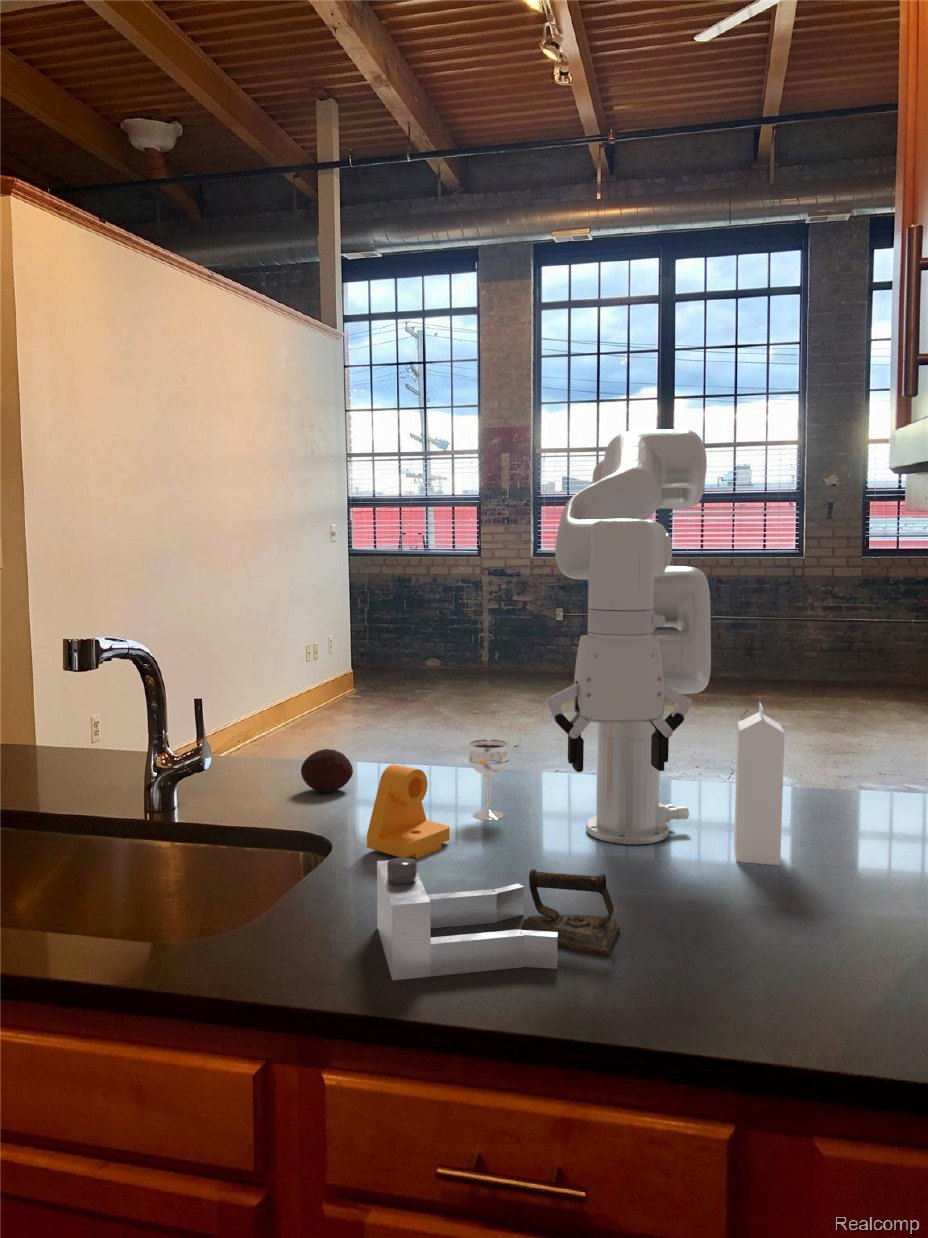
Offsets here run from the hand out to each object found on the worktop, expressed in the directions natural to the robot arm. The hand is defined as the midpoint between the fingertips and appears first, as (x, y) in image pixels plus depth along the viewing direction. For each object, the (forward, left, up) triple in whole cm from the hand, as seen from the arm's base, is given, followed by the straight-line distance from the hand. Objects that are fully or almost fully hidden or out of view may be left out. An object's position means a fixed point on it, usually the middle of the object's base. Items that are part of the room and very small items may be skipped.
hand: (617, 769), depth 107 cm
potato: (+30, -63, -19) cm, 72 cm away
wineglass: (+5, -43, -18) cm, 47 cm away
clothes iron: (+7, +4, -19) cm, 20 cm away
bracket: (+20, -30, -19) cm, 40 cm away
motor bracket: (+19, +3, -18) cm, 27 cm away
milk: (-28, -16, -18) cm, 37 cm away
